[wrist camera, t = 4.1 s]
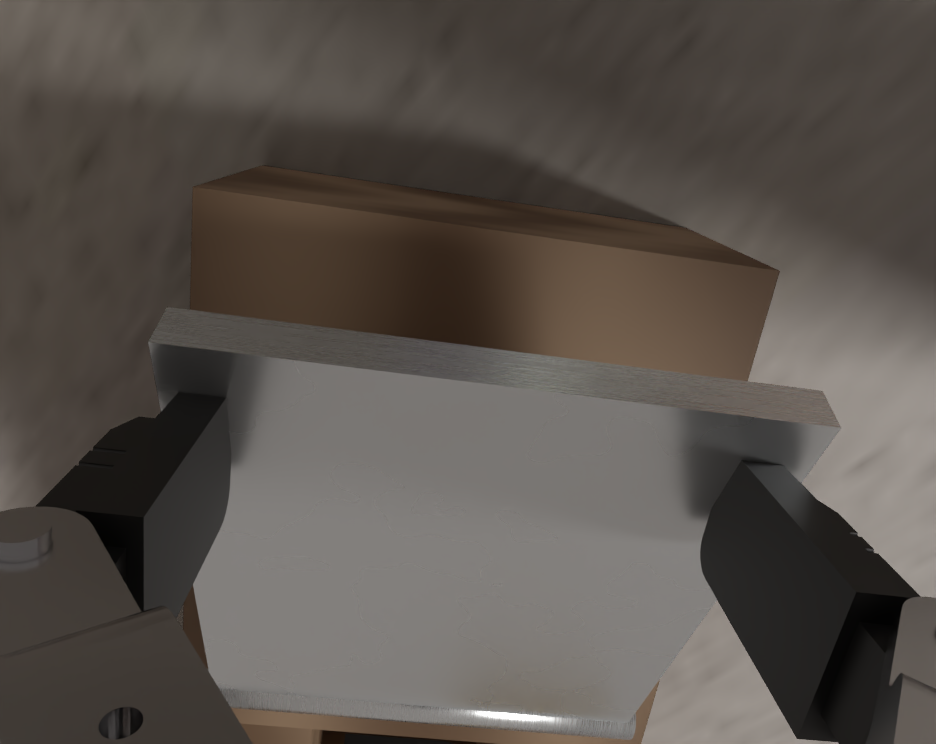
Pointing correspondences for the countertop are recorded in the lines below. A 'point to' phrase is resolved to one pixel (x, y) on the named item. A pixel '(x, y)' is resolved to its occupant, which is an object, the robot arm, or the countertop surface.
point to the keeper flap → (461, 521)
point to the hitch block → (466, 313)
